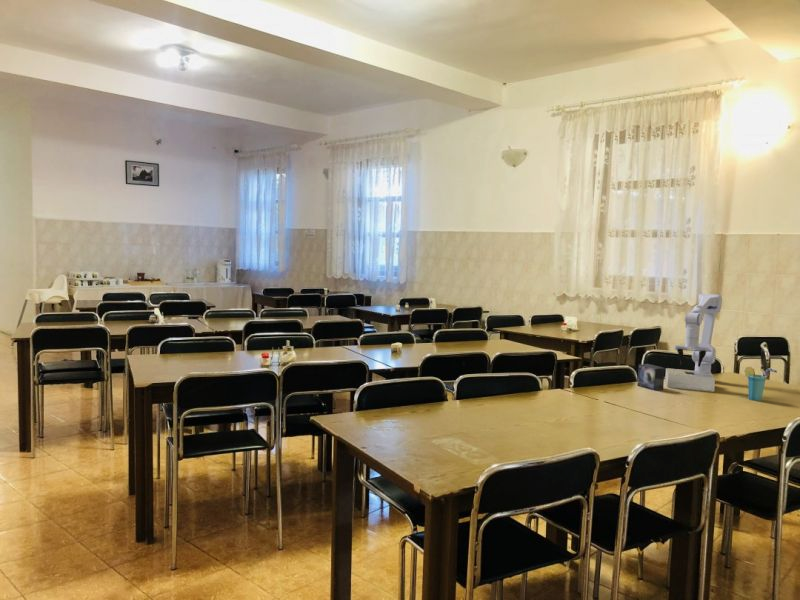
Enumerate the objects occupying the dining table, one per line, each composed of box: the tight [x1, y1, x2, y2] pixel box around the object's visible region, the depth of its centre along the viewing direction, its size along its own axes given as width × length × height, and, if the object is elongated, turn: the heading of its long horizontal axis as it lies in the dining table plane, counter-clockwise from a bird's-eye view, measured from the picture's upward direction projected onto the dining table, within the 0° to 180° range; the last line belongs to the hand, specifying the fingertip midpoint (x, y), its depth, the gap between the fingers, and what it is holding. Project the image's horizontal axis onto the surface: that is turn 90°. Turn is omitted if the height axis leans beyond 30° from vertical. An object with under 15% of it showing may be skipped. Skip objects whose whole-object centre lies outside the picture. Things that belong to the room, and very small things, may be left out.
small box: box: [636, 363, 666, 391], centre depth 292 cm, size 11×6×10 cm, turn 25°
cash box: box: [664, 367, 716, 393], centre depth 298 cm, size 16×20×6 cm
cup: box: [744, 366, 778, 402], centre depth 273 cm, size 14×8×15 cm, turn 34°
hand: (690, 365), depth 298 cm, fingers open, 7 cm apart
